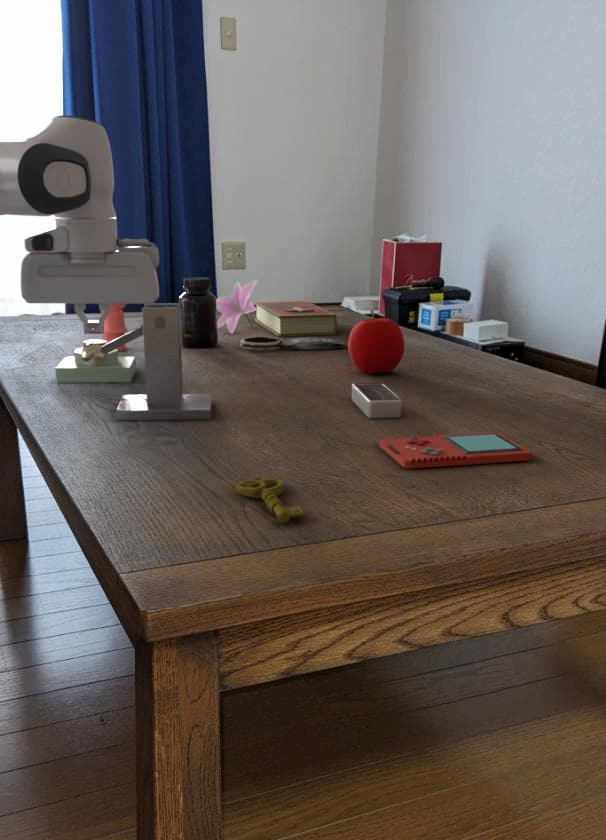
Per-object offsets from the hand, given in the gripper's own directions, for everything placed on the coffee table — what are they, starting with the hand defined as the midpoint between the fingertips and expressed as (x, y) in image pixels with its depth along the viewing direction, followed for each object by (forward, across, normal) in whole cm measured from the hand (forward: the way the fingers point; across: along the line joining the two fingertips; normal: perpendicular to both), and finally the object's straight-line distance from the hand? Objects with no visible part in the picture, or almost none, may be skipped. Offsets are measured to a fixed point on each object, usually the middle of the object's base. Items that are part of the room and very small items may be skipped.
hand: (94, 333), depth 137 cm
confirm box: (+7, 0, 0) cm, 7 cm away
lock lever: (-2, -8, +23) cm, 24 cm away
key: (+7, -25, +60) cm, 65 cm away
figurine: (+7, 0, -23) cm, 24 cm away
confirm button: (+3, 0, 0) cm, 3 cm away
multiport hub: (+7, -41, +21) cm, 46 cm away
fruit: (+7, -44, -3) cm, 45 cm away
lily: (+7, -21, -45) cm, 51 cm away
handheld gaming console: (+7, -47, +43) cm, 64 cm away
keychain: (+7, -32, -24) cm, 41 cm away
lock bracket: (+7, -12, +23) cm, 27 cm away
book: (+7, -33, -48) cm, 59 cm away
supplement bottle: (+7, -15, -27) cm, 32 cm away
